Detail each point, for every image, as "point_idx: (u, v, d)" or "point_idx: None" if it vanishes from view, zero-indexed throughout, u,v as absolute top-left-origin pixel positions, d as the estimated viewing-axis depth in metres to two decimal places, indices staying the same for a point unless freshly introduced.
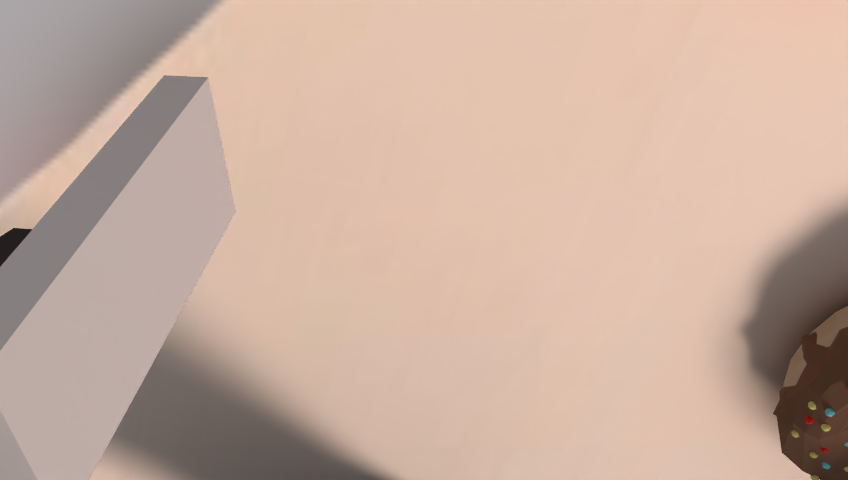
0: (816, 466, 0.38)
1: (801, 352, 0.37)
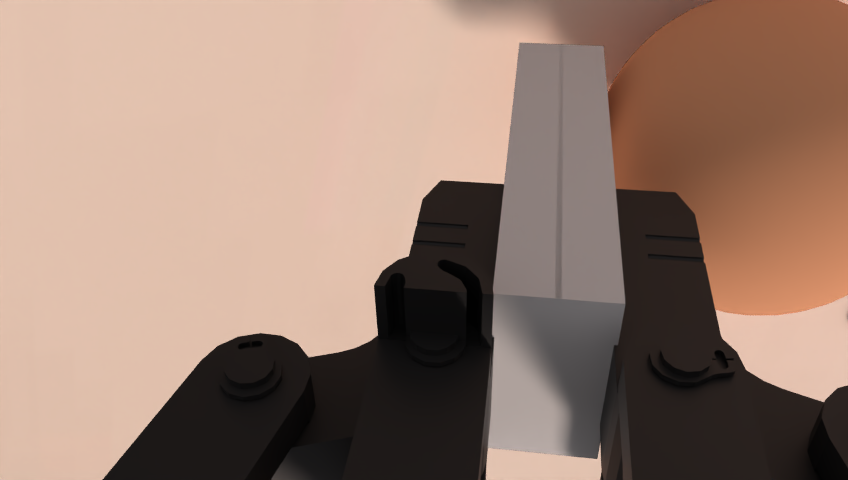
0: None
1: None
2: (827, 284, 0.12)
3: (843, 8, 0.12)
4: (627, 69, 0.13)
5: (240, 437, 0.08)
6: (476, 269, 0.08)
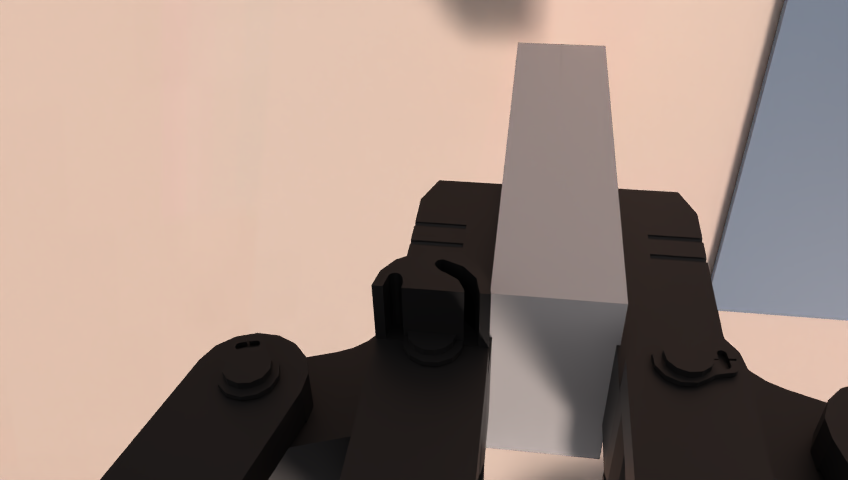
0: None
1: None
2: None
3: None
4: None
5: (237, 437, 0.08)
6: (474, 269, 0.08)
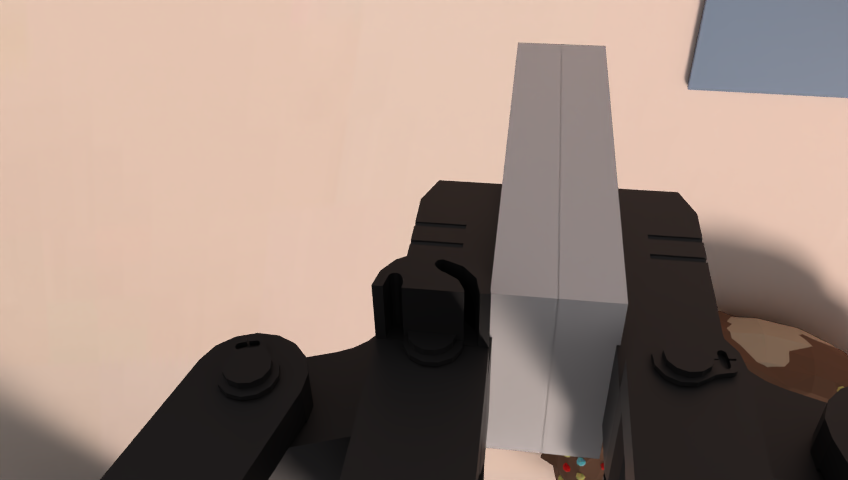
0: None
1: None
2: None
3: None
4: None
5: (237, 437, 0.08)
6: (474, 269, 0.08)
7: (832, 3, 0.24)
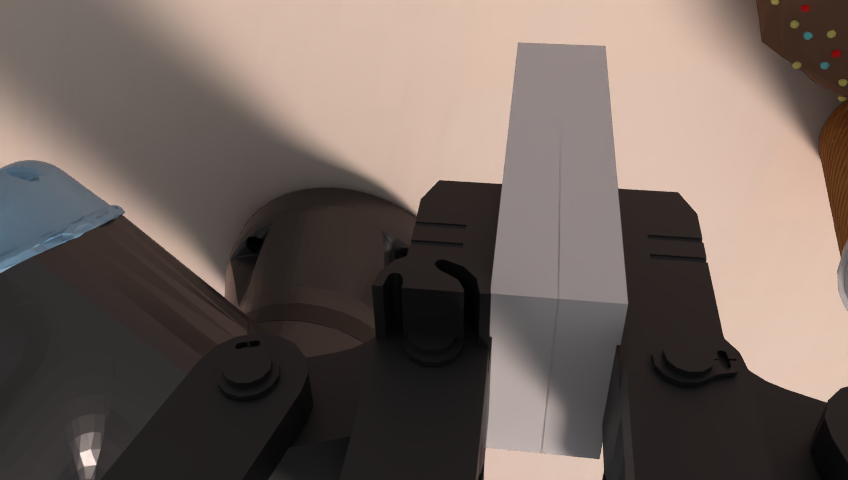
0: (798, 44, 0.36)
1: None
2: None
3: None
4: None
5: (237, 436, 0.08)
6: (473, 269, 0.08)
7: None
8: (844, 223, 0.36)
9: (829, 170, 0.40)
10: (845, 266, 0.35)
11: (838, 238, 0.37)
